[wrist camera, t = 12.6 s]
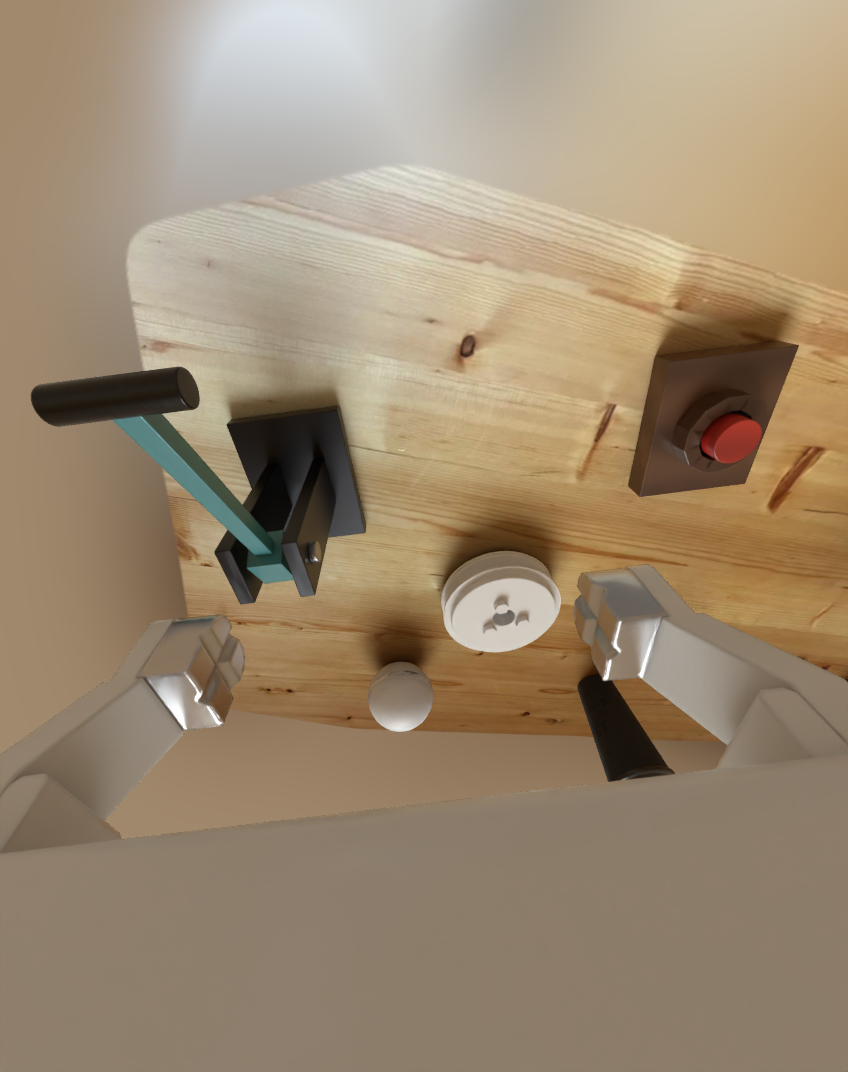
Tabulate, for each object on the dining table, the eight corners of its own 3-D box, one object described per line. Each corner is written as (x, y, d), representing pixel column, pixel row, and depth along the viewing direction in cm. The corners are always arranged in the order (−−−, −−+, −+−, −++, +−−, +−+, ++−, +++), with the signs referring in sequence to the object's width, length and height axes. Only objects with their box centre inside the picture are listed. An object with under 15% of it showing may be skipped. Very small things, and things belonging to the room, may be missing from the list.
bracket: (231, 419, 33) (148, 501, 22) (339, 405, 33) (312, 480, 22) (276, 537, 40) (231, 646, 29) (366, 525, 40) (357, 631, 29)
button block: (655, 355, 33) (684, 366, 29) (777, 340, 33) (820, 349, 29) (628, 486, 40) (649, 506, 36) (728, 473, 40) (759, 492, 36)
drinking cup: (631, 670, 57) (729, 838, 40) (604, 702, 61) (684, 866, 44) (582, 665, 55) (664, 836, 39) (559, 698, 59) (624, 866, 43)
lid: (427, 621, 48) (431, 655, 44) (458, 536, 41) (466, 567, 37) (524, 634, 51) (536, 667, 47) (568, 555, 44) (586, 586, 40)
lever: (42, 365, 14) (18, 416, 13) (182, 348, 14) (170, 396, 13) (247, 554, 28) (244, 586, 27) (317, 545, 28) (317, 577, 27)
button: (707, 415, 32) (722, 423, 31) (752, 410, 32) (769, 417, 31) (695, 457, 34) (708, 466, 33) (737, 452, 34) (752, 460, 33)
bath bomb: (435, 650, 51) (442, 707, 45) (424, 688, 56) (428, 746, 49) (373, 645, 50) (370, 704, 43) (366, 685, 54) (363, 744, 48)
